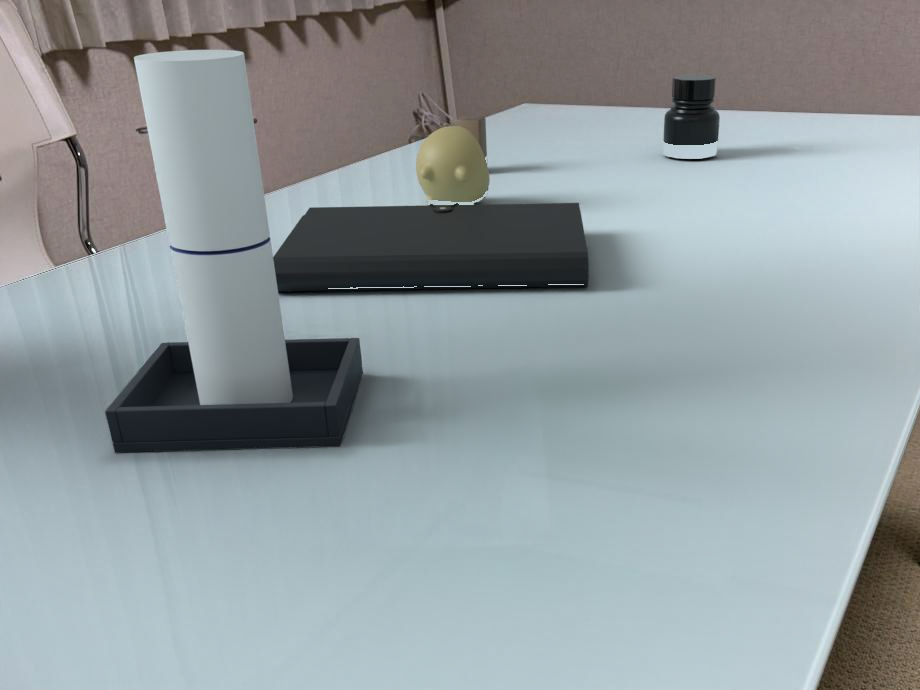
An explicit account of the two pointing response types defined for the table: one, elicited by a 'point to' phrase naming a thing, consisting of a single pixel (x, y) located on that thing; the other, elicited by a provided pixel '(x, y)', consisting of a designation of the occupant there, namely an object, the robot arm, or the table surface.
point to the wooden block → (475, 129)
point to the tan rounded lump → (452, 166)
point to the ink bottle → (692, 112)
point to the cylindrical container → (216, 222)
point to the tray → (238, 425)
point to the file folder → (434, 247)
